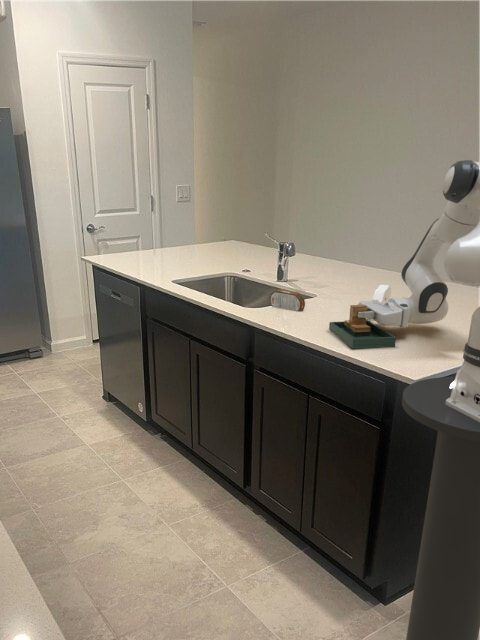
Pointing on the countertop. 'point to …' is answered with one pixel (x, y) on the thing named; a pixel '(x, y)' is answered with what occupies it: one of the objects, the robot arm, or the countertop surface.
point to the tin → (287, 300)
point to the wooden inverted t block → (357, 322)
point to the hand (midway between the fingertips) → (355, 313)
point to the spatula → (381, 295)
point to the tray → (374, 340)
